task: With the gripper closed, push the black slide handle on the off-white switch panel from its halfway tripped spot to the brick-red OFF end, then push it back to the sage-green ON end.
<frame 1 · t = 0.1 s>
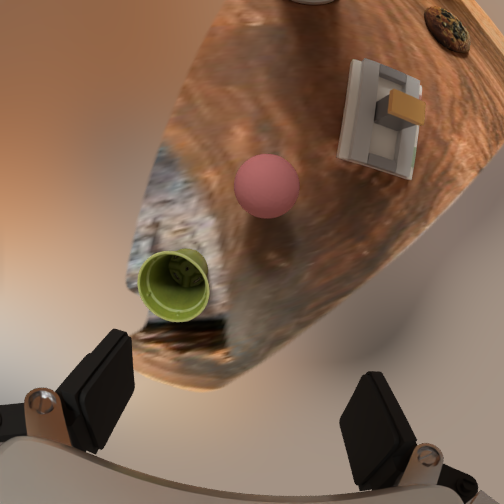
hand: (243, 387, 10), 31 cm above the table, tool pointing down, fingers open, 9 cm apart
switch panel: (381, 118, 35), on the table
plant pot: (188, 266, 42), on the table
light bulb: (265, 184, 38), on the table
bread roll: (445, 30, 29), on the table
breaker handle: (396, 111, 30), point 5 cm above the table, slide at 0.0 cm
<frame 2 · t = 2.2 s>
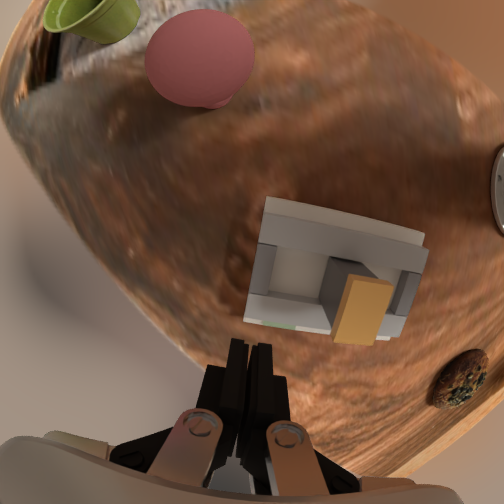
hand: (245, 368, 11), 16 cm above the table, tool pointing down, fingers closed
switch panel: (335, 273, 27), on the table
plant pot: (118, 24, 21), on the table
light bulb: (219, 93, 23), on the table
bread roll: (458, 376, 30), on the table
breaker handle: (350, 295, 21), point 5 cm above the table, slide at 0.0 cm
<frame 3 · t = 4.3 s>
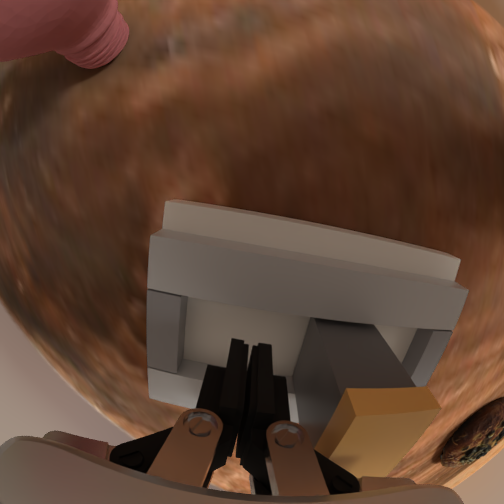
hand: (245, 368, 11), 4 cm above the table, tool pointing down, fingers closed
switch panel: (304, 329, 15), on the table
light bulb: (113, 45, 12), on the table
bread roll: (474, 428, 19), on the table
breaker handle: (347, 394, 10), point 5 cm above the table, slide at -1.2 cm, touching gripper
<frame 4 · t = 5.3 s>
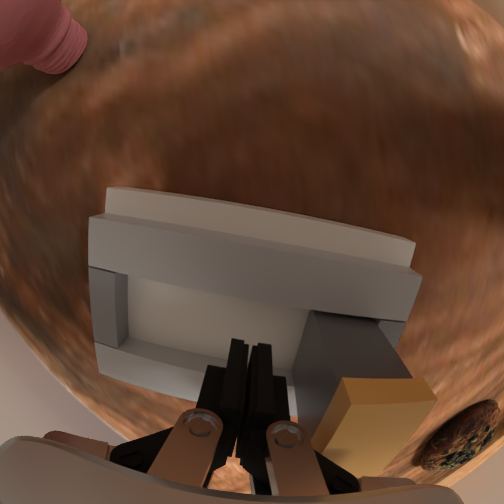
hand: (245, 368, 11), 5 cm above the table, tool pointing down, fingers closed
switch panel: (244, 313, 16), on the table
light bulb: (76, 51, 12), on the table
bread roll: (458, 431, 19), on the table
breaker handle: (345, 386, 10), point 5 cm above the table, slide at -4.7 cm, touching gripper
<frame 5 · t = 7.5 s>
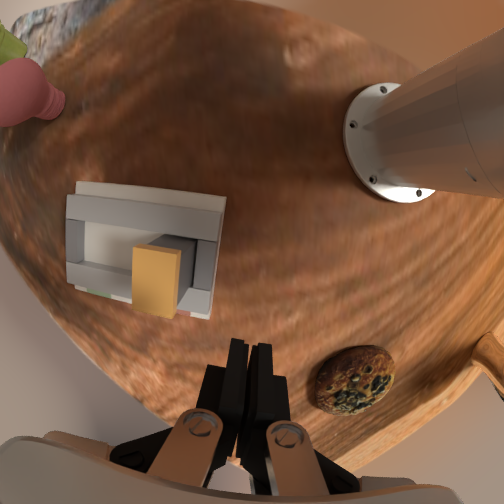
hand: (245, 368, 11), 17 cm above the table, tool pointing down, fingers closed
switch panel: (142, 245, 27), on the table
plant pot: (15, 61, 21), on the table
beer glass: (482, 347, 30), on the table
light bulb: (60, 105, 23), on the table
bread roll: (353, 377, 31), on the table
breaker handle: (167, 268, 22), point 5 cm above the table, slide at -4.5 cm
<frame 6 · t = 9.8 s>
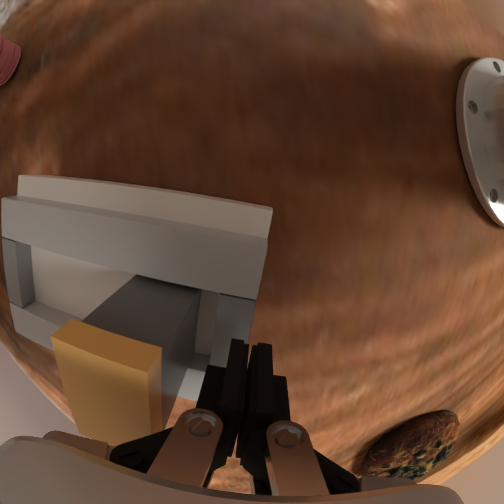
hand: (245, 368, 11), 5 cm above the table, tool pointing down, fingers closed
switch panel: (119, 284, 15), on the table
light bulb: (16, 65, 12), on the table
bread roll: (409, 442, 20), on the table
breaker handle: (142, 351, 10), point 5 cm above the table, slide at -3.8 cm, touching gripper
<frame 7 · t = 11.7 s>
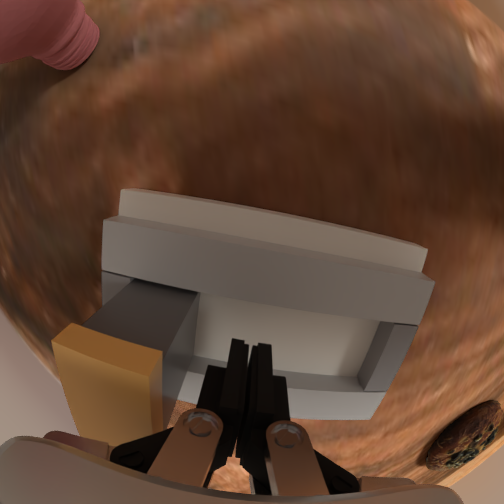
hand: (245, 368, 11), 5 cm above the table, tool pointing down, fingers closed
switch panel: (259, 318, 16), on the table
light bulb: (87, 47, 12), on the table
bread roll: (461, 431, 20), on the table
breaker handle: (141, 355, 10), point 5 cm above the table, slide at 4.8 cm, touching gripper, switch panel
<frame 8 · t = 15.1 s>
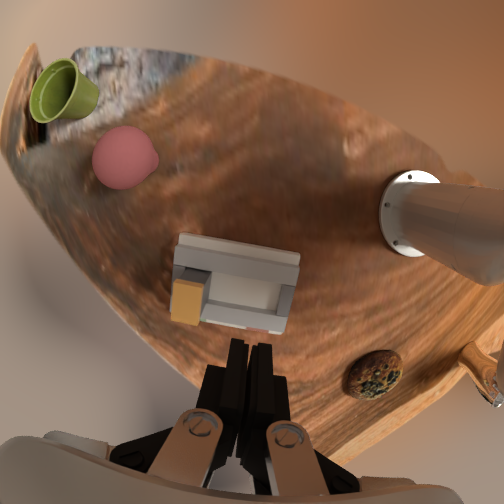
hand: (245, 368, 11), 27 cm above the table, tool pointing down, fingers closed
switch panel: (233, 283, 39), on the table
plant pot: (85, 101, 33), on the table
beer glass: (467, 353, 42), on the table
light bulb: (151, 161, 35), on the table
bread roll: (374, 372, 43), on the table
breaker handle: (192, 292, 34), point 5 cm above the table, slide at 4.5 cm
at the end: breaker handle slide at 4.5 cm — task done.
